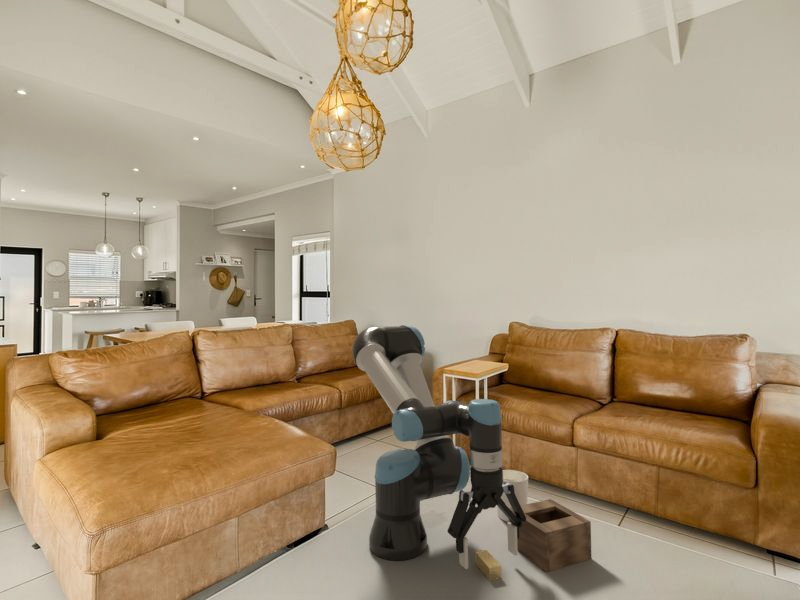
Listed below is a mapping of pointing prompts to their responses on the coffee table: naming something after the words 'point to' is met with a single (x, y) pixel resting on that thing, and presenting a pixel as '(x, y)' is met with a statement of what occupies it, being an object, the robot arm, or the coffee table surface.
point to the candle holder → (520, 489)
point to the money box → (553, 535)
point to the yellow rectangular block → (488, 564)
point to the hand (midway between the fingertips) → (489, 559)
